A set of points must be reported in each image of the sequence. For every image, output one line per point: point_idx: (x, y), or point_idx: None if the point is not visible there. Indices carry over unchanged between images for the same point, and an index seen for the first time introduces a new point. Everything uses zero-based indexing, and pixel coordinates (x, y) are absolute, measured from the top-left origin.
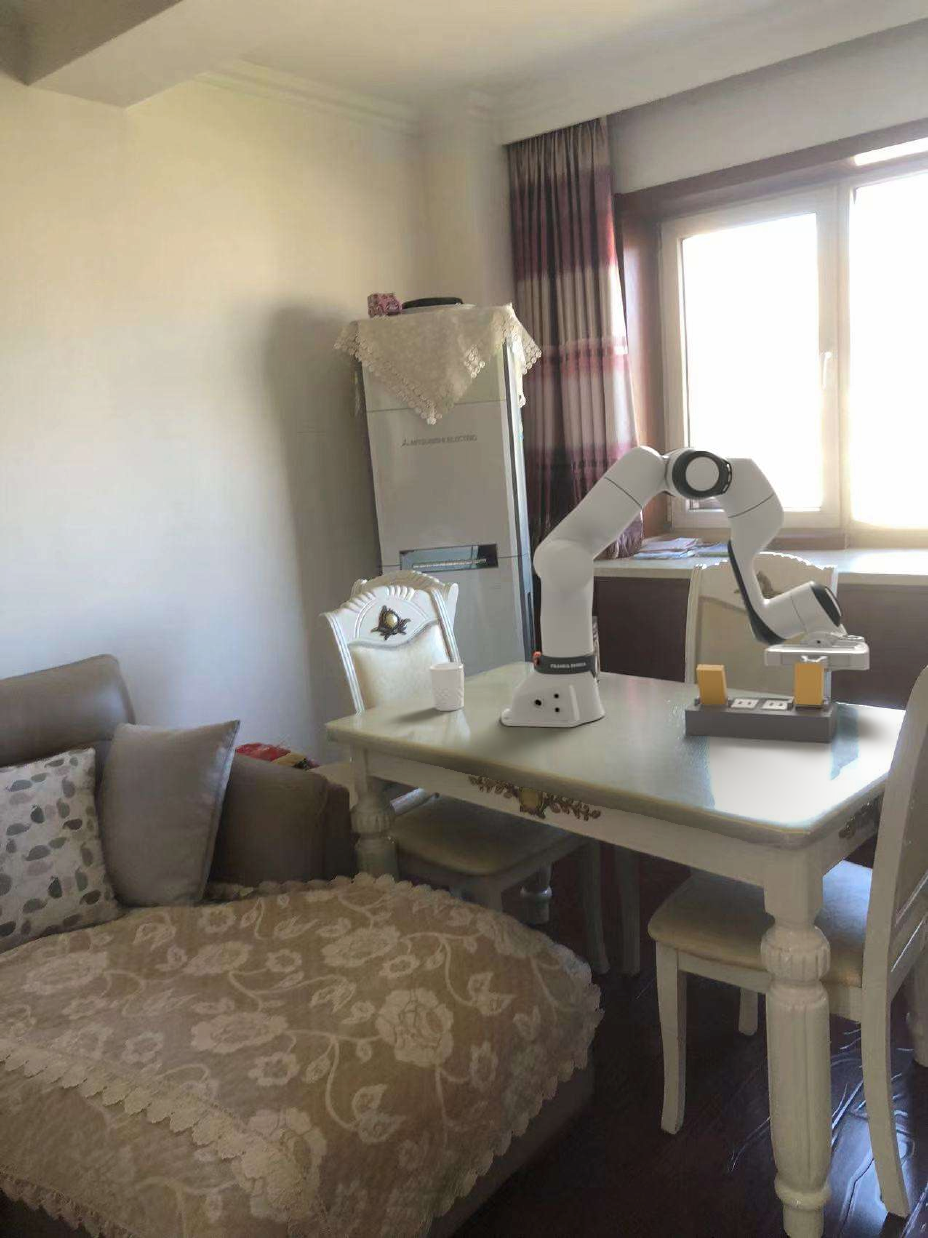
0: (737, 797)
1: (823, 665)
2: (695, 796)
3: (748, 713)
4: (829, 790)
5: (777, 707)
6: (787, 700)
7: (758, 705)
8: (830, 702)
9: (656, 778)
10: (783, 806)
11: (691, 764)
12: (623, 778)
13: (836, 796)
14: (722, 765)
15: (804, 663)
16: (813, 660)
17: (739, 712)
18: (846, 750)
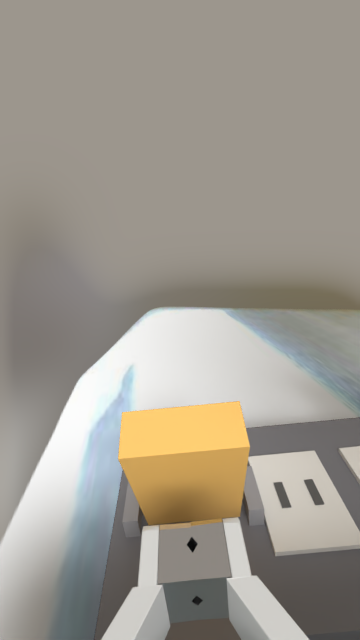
0: (213, 323)
1: (120, 449)
2: (249, 316)
3: (323, 421)
4: (133, 348)
5: (276, 465)
6: (303, 592)
7: (354, 489)
8: (121, 605)
9: (314, 327)
10: (170, 322)
11: (312, 357)
12: (345, 321)
13: (127, 341)
14: (273, 363)
15: (199, 405)
16: (182, 537)
17: (348, 420)
18: (104, 457)
